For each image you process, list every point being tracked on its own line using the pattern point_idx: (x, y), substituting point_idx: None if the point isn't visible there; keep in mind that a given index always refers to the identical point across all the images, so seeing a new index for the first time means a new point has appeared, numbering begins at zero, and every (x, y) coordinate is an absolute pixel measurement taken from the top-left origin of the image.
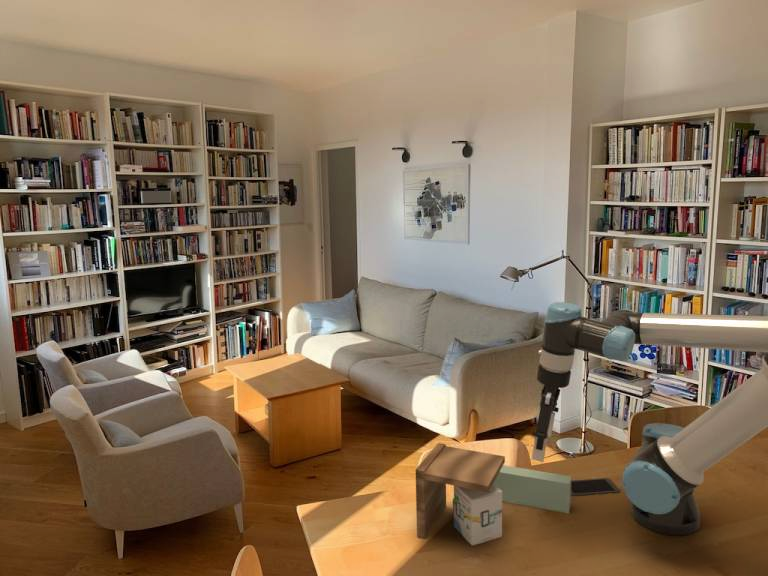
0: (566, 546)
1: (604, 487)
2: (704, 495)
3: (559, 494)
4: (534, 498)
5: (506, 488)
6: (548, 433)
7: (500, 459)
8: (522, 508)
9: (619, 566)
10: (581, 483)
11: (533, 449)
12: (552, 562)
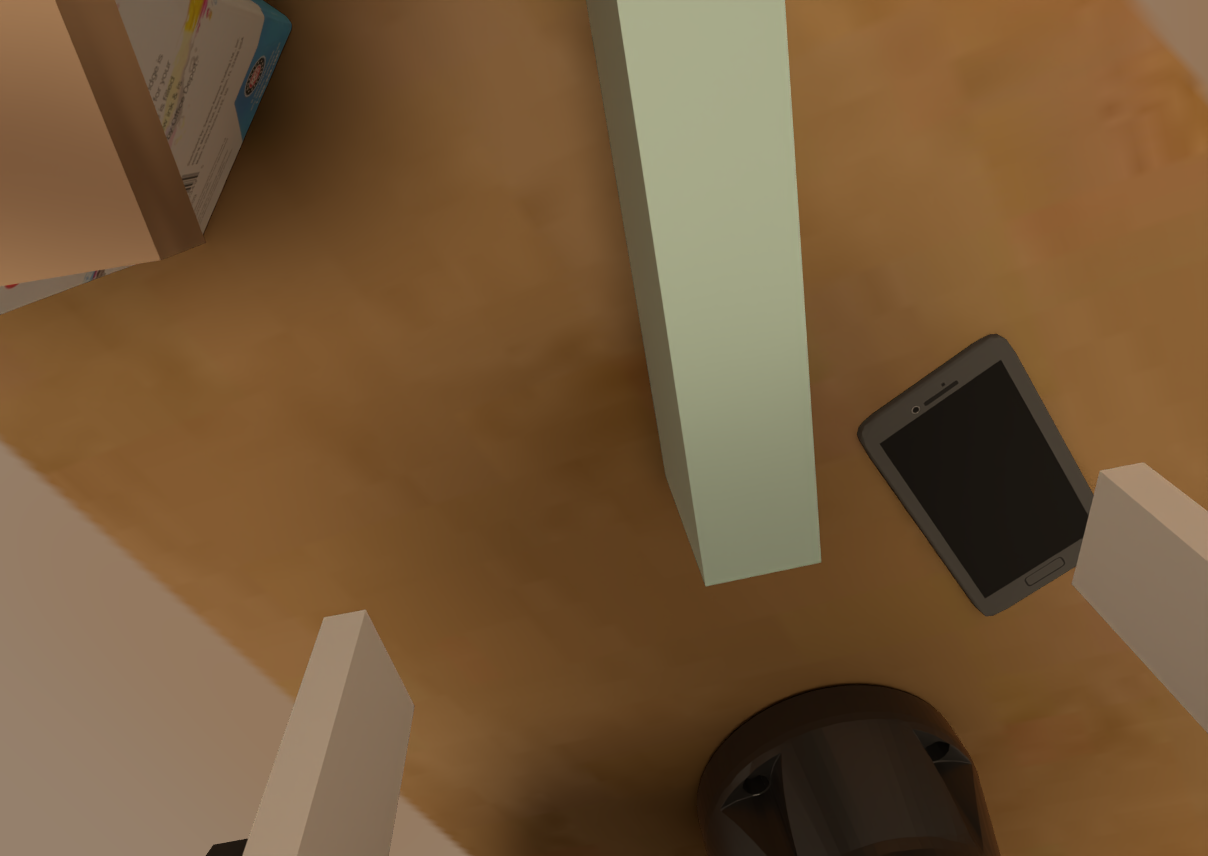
0: (363, 557)
1: (1001, 551)
2: (1060, 843)
3: (678, 481)
4: (643, 306)
5: (612, 91)
6: (1108, 586)
7: (5, 241)
8: (579, 231)
9: None
10: (1010, 443)
11: (277, 757)
12: (191, 548)
